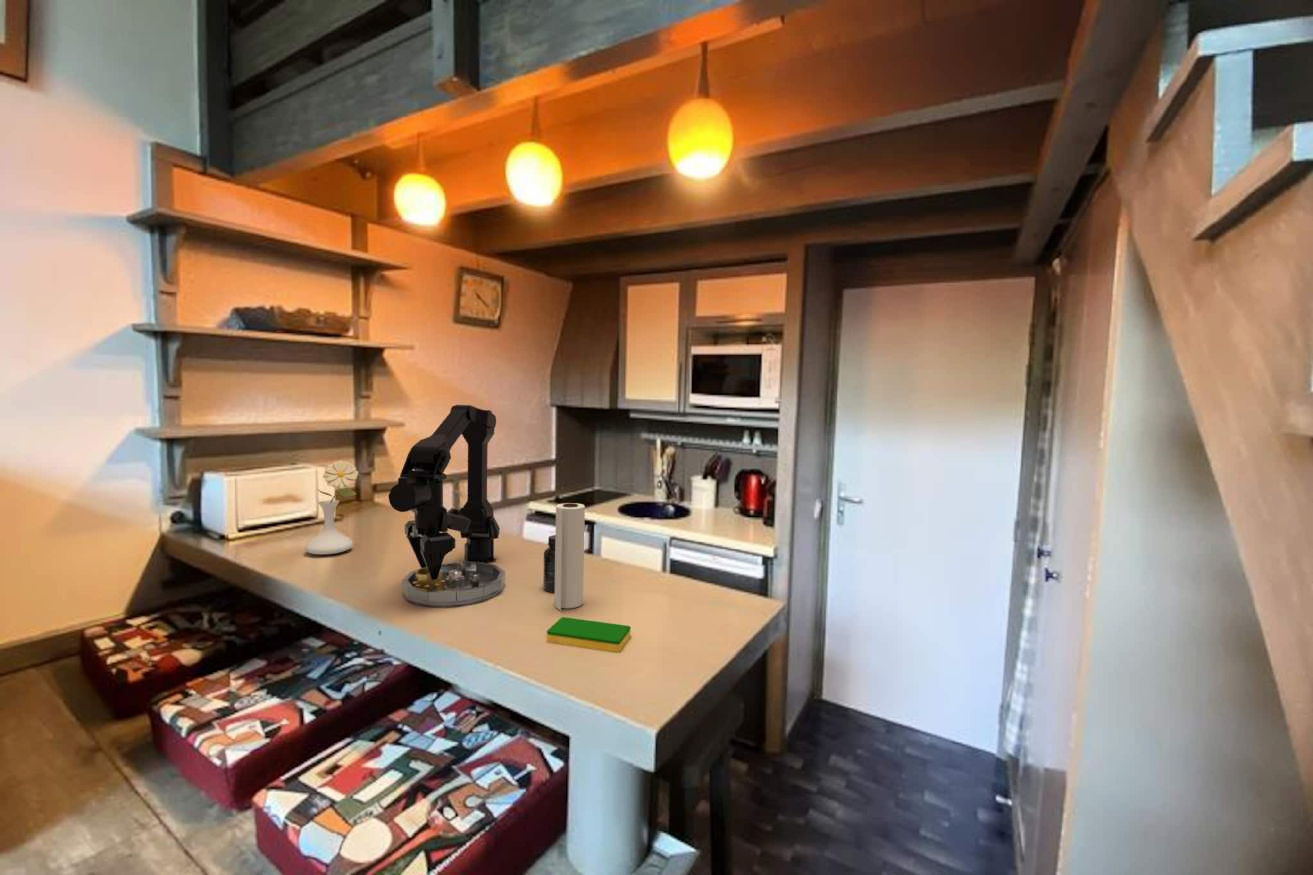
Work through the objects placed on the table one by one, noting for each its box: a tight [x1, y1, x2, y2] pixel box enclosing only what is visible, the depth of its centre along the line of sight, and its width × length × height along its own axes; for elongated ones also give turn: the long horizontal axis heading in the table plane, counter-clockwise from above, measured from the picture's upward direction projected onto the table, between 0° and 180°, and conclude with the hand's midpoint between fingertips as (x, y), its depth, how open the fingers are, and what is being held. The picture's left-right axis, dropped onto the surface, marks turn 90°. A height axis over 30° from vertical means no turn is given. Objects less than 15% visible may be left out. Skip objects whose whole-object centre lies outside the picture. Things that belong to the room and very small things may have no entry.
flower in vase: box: [304, 460, 359, 556], centre depth 150 cm, size 13×11×25 cm
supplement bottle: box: [542, 534, 556, 594], centre depth 128 cm, size 7×7×12 cm
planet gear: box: [413, 568, 445, 591], centre depth 122 cm, size 6×6×4 cm
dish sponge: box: [546, 616, 632, 653], centre depth 102 cm, size 7×14×2 cm, turn 76°
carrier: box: [401, 561, 506, 608], centre depth 125 cm, size 21×21×4 cm
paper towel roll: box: [554, 502, 586, 613], centre depth 118 cm, size 7×6×21 cm
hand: (429, 573), depth 122 cm, fingers open, 9 cm apart
